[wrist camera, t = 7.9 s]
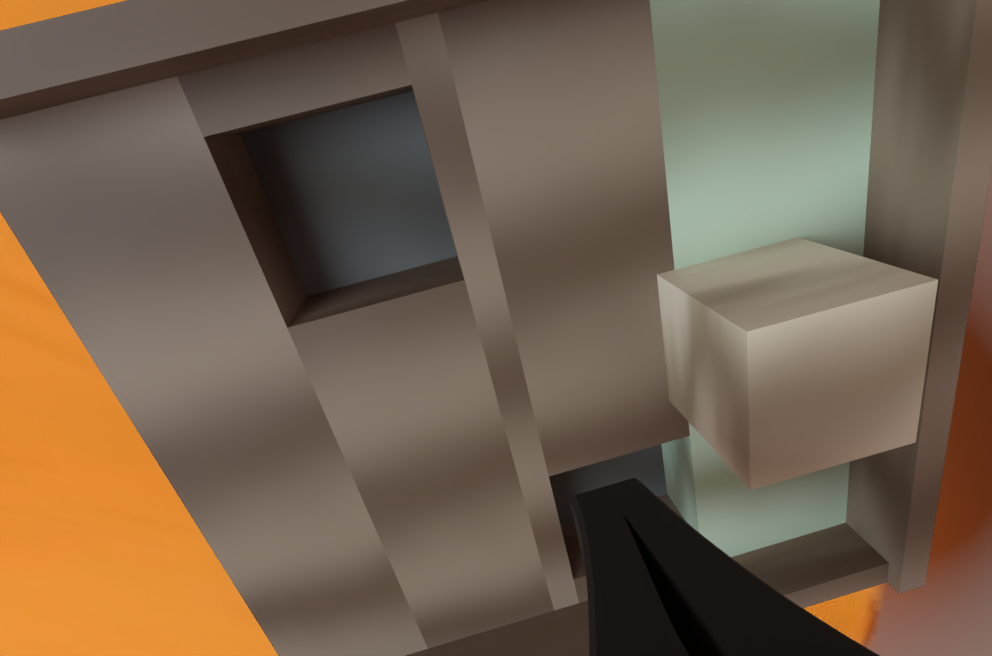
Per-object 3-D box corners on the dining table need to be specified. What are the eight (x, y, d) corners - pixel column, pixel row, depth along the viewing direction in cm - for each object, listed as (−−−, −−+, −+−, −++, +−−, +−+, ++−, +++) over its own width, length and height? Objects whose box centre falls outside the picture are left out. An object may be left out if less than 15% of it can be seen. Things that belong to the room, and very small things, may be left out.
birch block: (795, 365, 17) (915, 442, 13) (669, 400, 17) (750, 490, 13) (798, 237, 15) (938, 279, 11) (656, 274, 15) (747, 331, 11)
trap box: (814, 484, 23) (924, 585, 18) (322, 631, 22) (294, 781, 17) (832, -108, 14) (1055, -230, 9) (20, 90, 13) (-217, 71, 8)
